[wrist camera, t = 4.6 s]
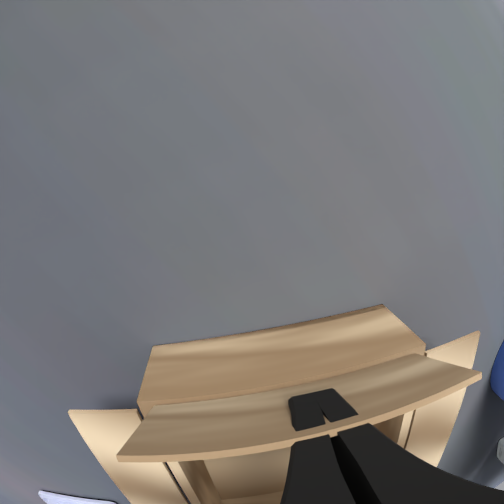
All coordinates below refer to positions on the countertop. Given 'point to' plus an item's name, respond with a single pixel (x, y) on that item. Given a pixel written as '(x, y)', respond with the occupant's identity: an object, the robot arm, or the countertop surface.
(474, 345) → the carton
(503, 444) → the ink box
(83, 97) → the countertop surface
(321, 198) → the countertop surface
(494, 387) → the water bottle
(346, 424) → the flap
